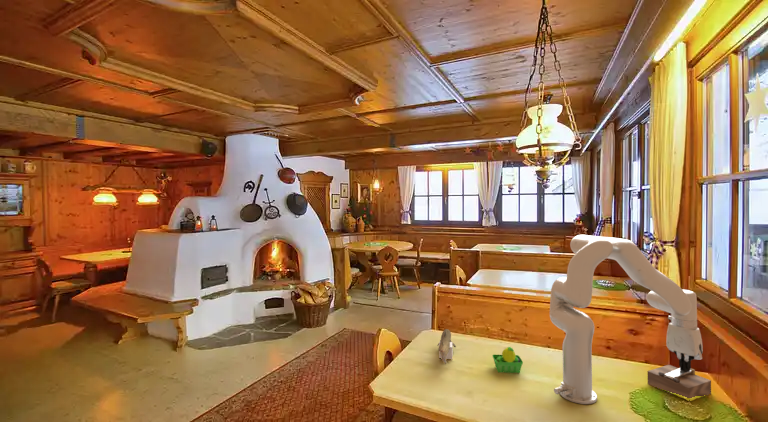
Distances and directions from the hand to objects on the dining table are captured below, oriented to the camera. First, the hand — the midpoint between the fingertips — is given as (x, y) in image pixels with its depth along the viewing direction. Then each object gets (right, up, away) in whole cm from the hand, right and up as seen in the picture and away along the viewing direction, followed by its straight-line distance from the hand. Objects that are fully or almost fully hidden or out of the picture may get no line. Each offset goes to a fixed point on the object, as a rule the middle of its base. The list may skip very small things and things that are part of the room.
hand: (685, 369), depth 137 cm
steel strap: (-4, -1, -1) cm, 4 cm away
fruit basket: (-62, -8, +17) cm, 65 cm away
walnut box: (-4, -7, -1) cm, 8 cm away
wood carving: (-87, -8, +30) cm, 92 cm away
